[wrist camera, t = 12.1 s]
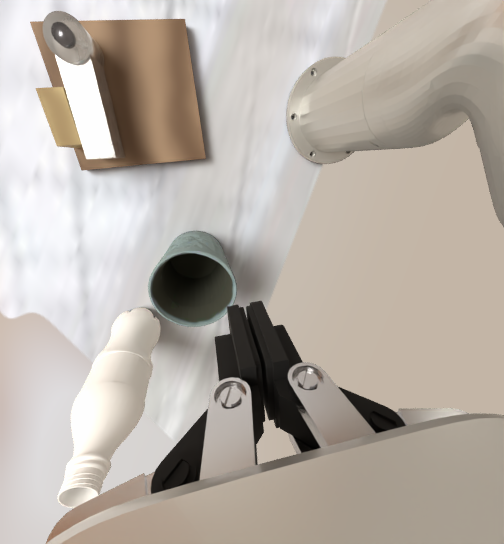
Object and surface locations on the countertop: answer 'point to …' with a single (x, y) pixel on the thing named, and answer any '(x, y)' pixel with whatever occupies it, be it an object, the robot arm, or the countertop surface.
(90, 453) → the water bottle
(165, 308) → the green plant pot
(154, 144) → the lock base
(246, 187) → the countertop surface
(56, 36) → the latch bar
